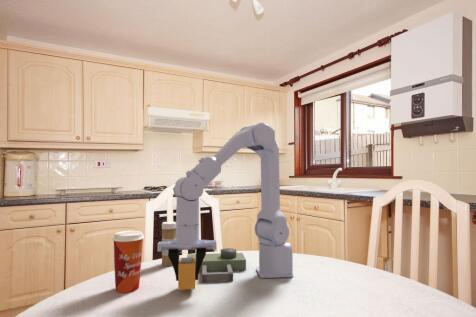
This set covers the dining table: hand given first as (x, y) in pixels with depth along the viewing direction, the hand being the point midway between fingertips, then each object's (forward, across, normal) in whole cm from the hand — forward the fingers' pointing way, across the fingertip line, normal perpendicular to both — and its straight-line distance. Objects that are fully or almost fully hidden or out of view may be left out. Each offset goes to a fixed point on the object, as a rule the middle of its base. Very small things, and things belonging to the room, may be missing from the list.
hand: (187, 279), depth 73 cm
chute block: (+2, 0, 0) cm, 2 cm away
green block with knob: (+3, +8, +14) cm, 16 cm away
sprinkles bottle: (+3, -7, +22) cm, 23 cm away
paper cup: (+3, -15, +3) cm, 16 cm away
